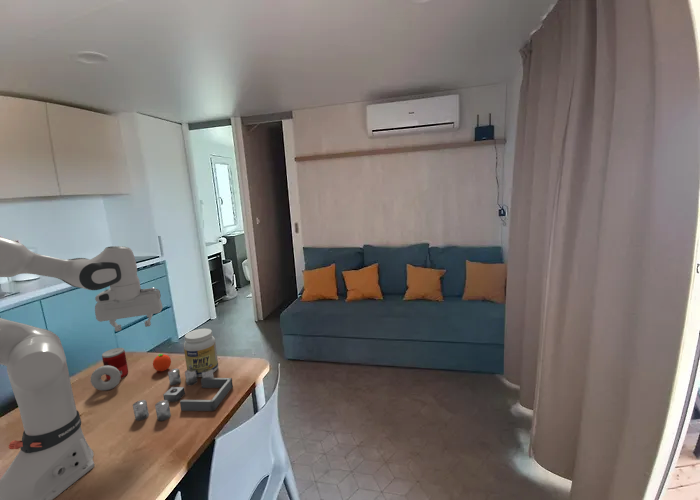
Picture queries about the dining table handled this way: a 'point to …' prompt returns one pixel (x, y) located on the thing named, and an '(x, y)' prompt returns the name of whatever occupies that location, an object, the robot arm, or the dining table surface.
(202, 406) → the tray
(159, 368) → the clementine
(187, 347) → the supplement tub
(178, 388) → the grey square block
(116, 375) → the donut
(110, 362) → the canned food
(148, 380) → the dining table surface
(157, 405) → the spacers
